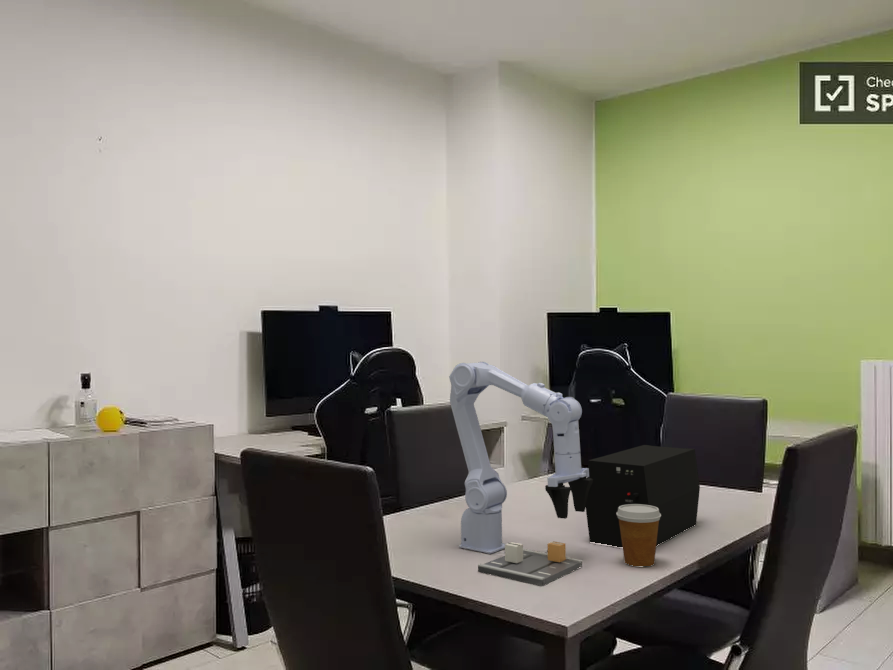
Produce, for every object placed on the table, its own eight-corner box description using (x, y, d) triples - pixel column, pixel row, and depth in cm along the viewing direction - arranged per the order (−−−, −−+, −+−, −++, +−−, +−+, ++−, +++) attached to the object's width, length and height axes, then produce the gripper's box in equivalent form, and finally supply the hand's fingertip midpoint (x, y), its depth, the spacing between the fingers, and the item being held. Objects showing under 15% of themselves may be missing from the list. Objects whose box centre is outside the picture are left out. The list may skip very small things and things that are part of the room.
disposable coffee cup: (608, 563, 168) (607, 508, 168) (632, 554, 175) (631, 501, 175) (647, 572, 161) (646, 515, 162) (670, 562, 168) (669, 507, 168)
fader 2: (547, 559, 166) (547, 543, 167) (553, 557, 168) (553, 540, 168) (559, 562, 165) (559, 545, 165) (565, 559, 166) (565, 543, 167)
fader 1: (505, 560, 166) (504, 544, 166) (511, 558, 168) (511, 541, 168) (516, 563, 164) (516, 546, 164) (523, 560, 166) (522, 543, 166)
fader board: (478, 571, 164) (477, 564, 164) (520, 554, 176) (520, 548, 176) (542, 586, 154) (541, 578, 154) (582, 567, 166) (582, 560, 166)
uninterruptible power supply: (700, 525, 201) (699, 449, 201) (646, 555, 174) (645, 467, 175) (641, 517, 211) (640, 444, 211) (582, 544, 185) (580, 460, 185)
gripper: (566, 457, 162) (570, 522, 162) (599, 449, 173) (603, 509, 173) (537, 456, 167) (541, 519, 166) (572, 448, 178) (575, 507, 177)
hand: (571, 514), depth 170 cm, fingers open, 7 cm apart
